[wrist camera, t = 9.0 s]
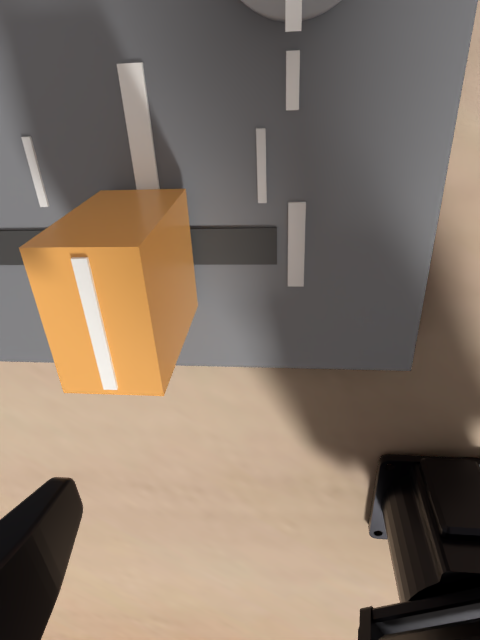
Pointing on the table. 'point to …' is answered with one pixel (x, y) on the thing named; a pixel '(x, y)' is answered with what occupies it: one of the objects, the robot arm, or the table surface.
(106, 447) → the table surface
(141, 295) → the fader
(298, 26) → the console
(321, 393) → the table surface
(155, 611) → the table surface
